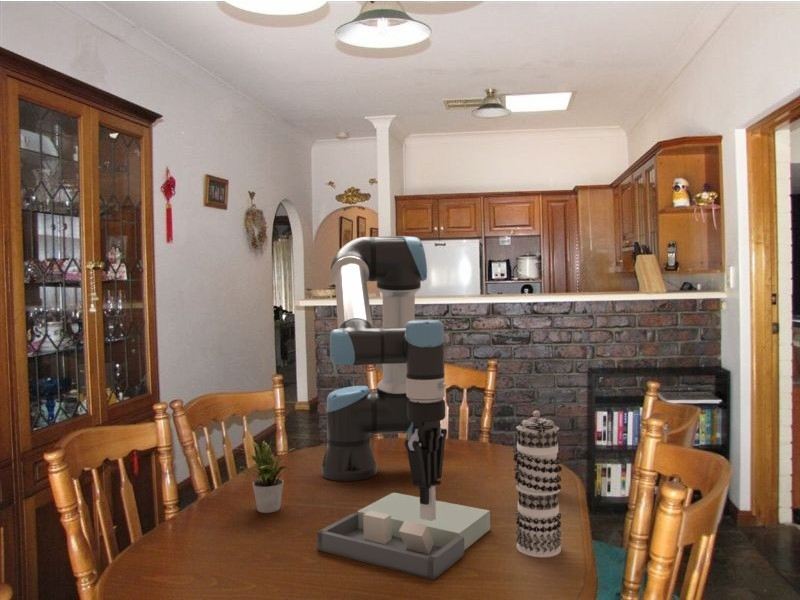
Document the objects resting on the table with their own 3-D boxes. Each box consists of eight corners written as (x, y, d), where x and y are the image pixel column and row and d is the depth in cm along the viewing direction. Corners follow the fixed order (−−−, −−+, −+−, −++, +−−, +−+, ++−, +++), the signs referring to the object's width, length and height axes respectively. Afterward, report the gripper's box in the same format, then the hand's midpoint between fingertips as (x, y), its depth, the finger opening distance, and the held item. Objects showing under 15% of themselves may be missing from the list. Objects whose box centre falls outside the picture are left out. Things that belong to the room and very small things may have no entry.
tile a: (370, 534, 132) (363, 539, 130) (370, 510, 132) (363, 514, 130) (391, 539, 129) (384, 543, 127) (390, 514, 129) (384, 518, 127)
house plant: (220, 509, 150) (218, 439, 150) (269, 494, 160) (268, 428, 160) (256, 524, 140) (254, 449, 140) (306, 507, 150) (304, 437, 150)
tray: (317, 549, 126) (317, 532, 126) (353, 529, 136) (353, 512, 136) (433, 580, 112) (433, 560, 112) (464, 555, 122) (464, 536, 122)
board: (357, 530, 136) (357, 511, 136) (393, 509, 148) (393, 492, 148) (459, 554, 123) (459, 533, 123) (490, 529, 135) (489, 510, 135)
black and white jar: (511, 538, 130) (509, 415, 129) (557, 538, 129) (556, 414, 129) (518, 558, 121) (516, 425, 120) (568, 558, 120) (566, 424, 120)
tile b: (411, 538, 126) (406, 548, 125) (404, 520, 124) (398, 531, 122) (434, 543, 124) (428, 554, 122) (427, 525, 122) (421, 536, 120)
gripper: (426, 406, 119) (428, 533, 119) (458, 395, 130) (460, 511, 130) (391, 402, 123) (394, 526, 123) (425, 392, 134) (427, 505, 134)
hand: (428, 518), depth 127 cm, fingers closed
